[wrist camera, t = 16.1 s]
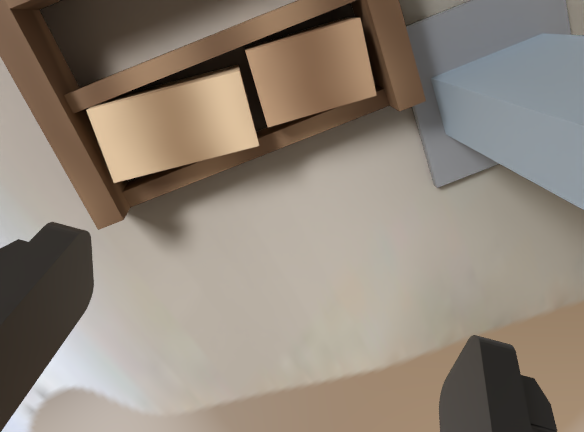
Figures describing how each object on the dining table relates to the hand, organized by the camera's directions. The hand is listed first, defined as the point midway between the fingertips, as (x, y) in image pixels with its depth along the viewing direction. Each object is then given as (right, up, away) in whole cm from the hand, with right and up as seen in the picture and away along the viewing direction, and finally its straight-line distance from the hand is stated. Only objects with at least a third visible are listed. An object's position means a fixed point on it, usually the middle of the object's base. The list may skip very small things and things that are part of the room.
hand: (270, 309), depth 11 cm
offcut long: (-6, +8, +20) cm, 23 cm away
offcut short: (+1, +11, +20) cm, 23 cm away
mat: (+13, +10, +21) cm, 27 cm away
